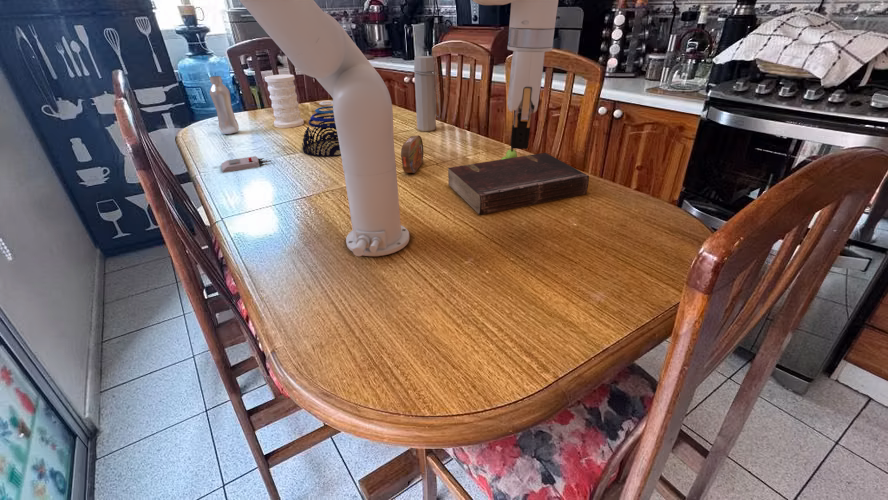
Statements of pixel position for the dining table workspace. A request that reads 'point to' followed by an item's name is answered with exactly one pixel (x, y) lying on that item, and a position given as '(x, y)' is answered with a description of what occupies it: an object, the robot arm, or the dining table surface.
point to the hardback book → (516, 182)
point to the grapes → (510, 154)
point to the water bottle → (425, 93)
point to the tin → (412, 154)
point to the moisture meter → (242, 163)
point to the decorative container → (284, 100)
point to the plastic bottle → (223, 106)
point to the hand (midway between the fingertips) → (518, 147)
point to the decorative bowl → (322, 126)
